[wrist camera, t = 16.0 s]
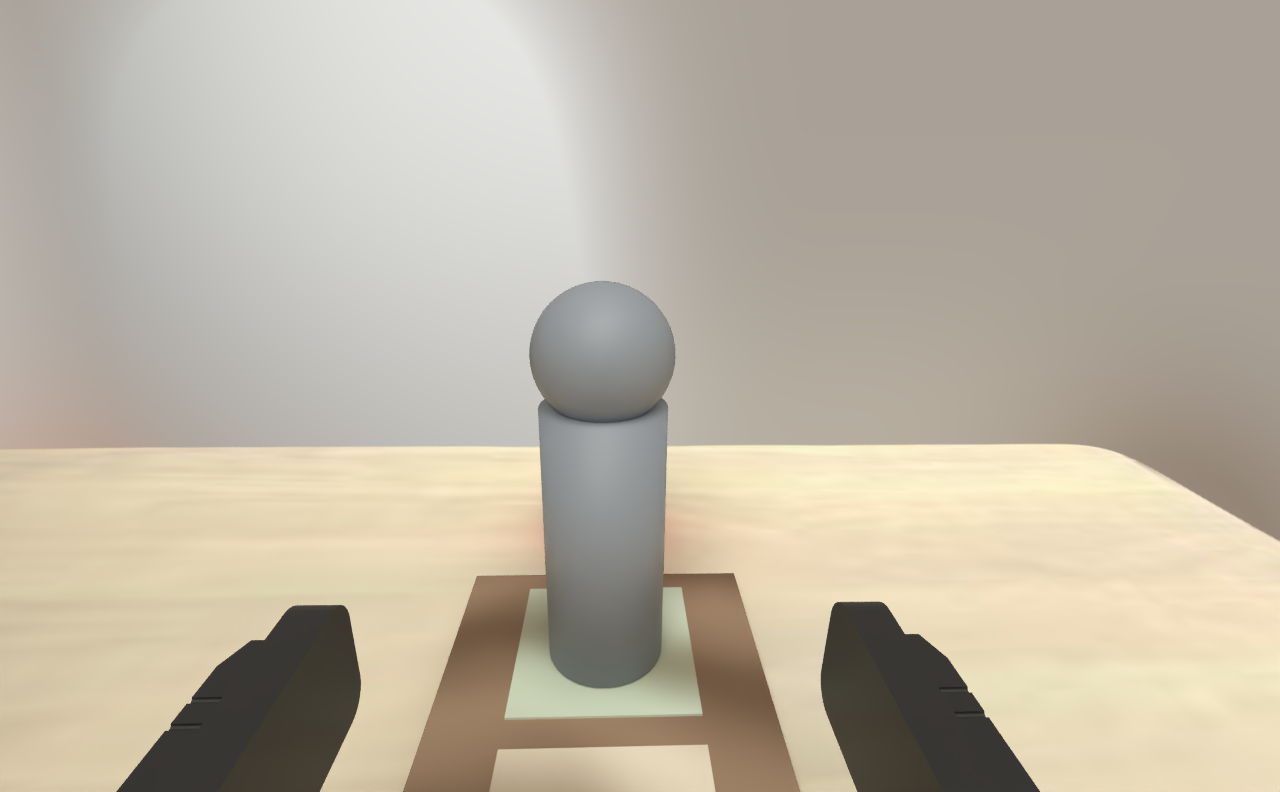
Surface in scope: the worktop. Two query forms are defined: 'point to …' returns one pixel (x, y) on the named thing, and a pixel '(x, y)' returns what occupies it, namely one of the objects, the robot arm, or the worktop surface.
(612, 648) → the pawn
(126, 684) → the worktop surface
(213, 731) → the robot arm
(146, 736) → the worktop surface
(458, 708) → the game track
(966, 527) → the worktop surface
